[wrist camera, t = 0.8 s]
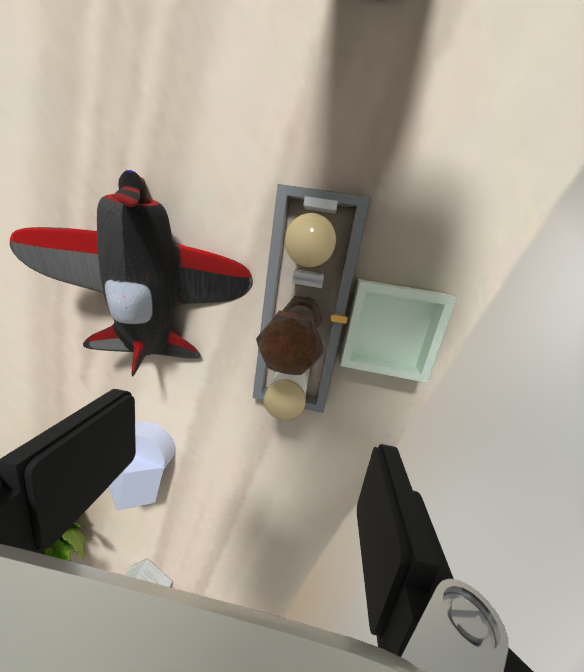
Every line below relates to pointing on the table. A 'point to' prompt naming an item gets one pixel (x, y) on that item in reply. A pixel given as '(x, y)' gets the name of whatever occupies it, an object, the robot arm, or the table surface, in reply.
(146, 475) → the wedge on round base
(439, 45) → the table surface
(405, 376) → the tray
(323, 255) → the ball
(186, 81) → the table surface
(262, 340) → the bolt
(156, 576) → the small box
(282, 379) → the fuse outer
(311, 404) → the block
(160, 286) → the toy airplane
